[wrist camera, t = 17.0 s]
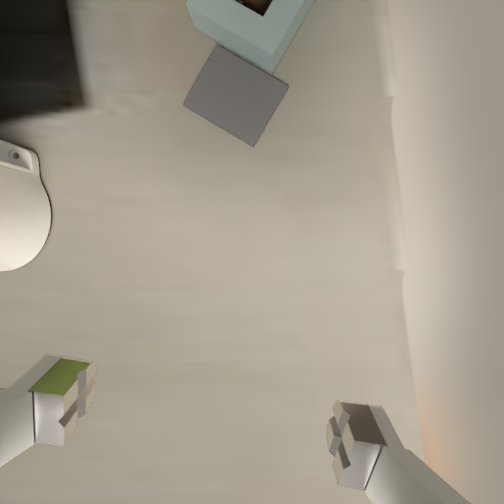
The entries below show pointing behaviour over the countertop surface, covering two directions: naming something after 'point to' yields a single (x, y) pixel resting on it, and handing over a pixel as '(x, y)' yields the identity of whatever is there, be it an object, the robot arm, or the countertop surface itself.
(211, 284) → the countertop surface
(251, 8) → the peg
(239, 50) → the socket block
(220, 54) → the mat
